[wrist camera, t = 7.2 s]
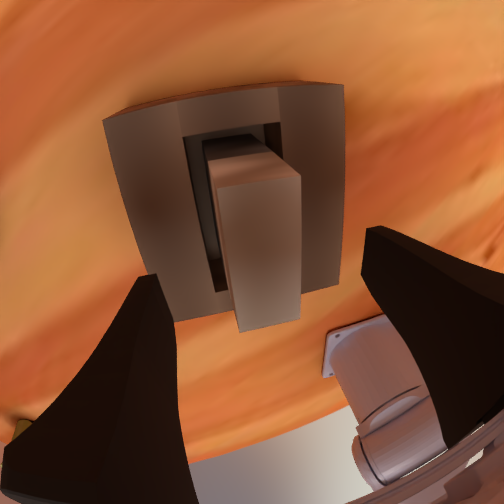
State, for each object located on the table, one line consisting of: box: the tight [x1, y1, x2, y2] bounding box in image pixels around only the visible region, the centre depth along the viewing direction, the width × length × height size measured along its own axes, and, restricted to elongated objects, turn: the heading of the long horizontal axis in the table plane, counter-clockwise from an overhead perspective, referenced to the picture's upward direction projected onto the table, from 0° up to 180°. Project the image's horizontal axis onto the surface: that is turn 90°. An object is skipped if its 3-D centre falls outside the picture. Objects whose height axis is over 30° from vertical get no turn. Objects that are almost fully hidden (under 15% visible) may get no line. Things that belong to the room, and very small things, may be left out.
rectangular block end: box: [201, 133, 302, 333], centre depth 13 cm, size 2×6×7 cm, turn 5°
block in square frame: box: [102, 81, 345, 322], centre depth 16 cm, size 10×11×5 cm
